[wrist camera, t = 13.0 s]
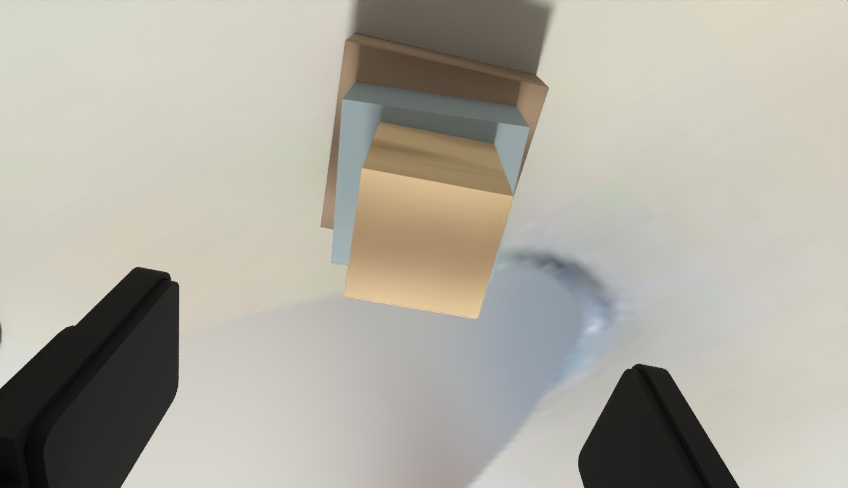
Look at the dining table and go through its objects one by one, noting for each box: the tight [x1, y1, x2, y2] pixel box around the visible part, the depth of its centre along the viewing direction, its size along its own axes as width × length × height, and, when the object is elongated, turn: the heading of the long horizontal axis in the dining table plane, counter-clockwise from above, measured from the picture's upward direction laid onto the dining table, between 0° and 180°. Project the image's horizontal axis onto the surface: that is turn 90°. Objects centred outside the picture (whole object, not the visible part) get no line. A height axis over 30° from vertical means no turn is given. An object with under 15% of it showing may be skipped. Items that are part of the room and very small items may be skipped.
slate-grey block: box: [331, 82, 530, 284], centre depth 25 cm, size 8×8×4 cm
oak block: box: [344, 122, 514, 319], centre depth 20 cm, size 5×5×6 cm
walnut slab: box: [321, 33, 549, 229], centre depth 28 cm, size 10×10×4 cm
